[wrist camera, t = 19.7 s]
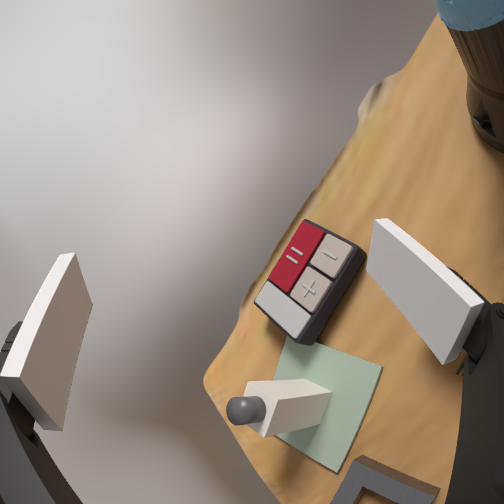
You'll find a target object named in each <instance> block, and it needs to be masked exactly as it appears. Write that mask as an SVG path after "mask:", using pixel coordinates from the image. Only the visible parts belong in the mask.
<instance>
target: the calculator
mask: <svg viewBox="0 0 504 504" xmlns="http://www.w3.org/2000/svg"><path fill="white" fill-rule="evenodd" d="M365 257H366V252H365V251H363V250H362V249H361V248H360V247H359V246H357V245H356V244H354V243H352V242H350V241H348V240H346V239H344V238H343V237H341V236H339V235H337V234H335V233H333V232H331V231H329V230H327V229H325V228H323V227H321V226H319V225H317V224H315V223H313V222H311V221H309V220H307V219H304V220H303V221H302V222H301V224H300V226H299V227H298V229H297V231H296V232H295V234H294V236H293V237H292V239H291V241H290V242H289V244H288V246H287V247H286V249H285V250H284V252H283V254H282V255H281V257H280V259H279V260H278V262H277V264H276V265H275V267H274V269H273V270H272V272H271V273H270V275H269V278H268V279H267V281H266V282H265V284H264V286H263V287H262V289H261V291H260V292H259V294H258V295H257V297H256V299H255V300H254V304H255V305H256V306H257V307H258V308H259V309H260V310H261V311H262V312H263V313H264V314H265V315H266V316H268V317H269V318H270V319H271V320H272V321H273V322H274V323H275V324H276V325H277V326H278V327H279V328H280V329H281V330H282V331H283V332H284V333H286V334H287V335H288V336H289V337H290V338H291V339H292V340H293V341H294V342H295V343H298V344H303V345H308V346H312V345H313V343H314V342H315V341H316V339H317V338H318V336H319V335H320V333H321V332H322V330H323V329H324V327H325V326H326V322H327V319H328V317H329V316H330V314H331V313H332V311H333V309H334V308H335V306H336V305H337V303H338V302H339V300H340V299H341V297H342V295H343V294H344V292H345V291H346V289H347V287H348V286H349V284H350V282H351V281H352V279H353V278H354V276H355V274H356V273H357V271H358V269H359V268H360V266H361V264H362V263H363V261H364V259H365Z"/></svg>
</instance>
